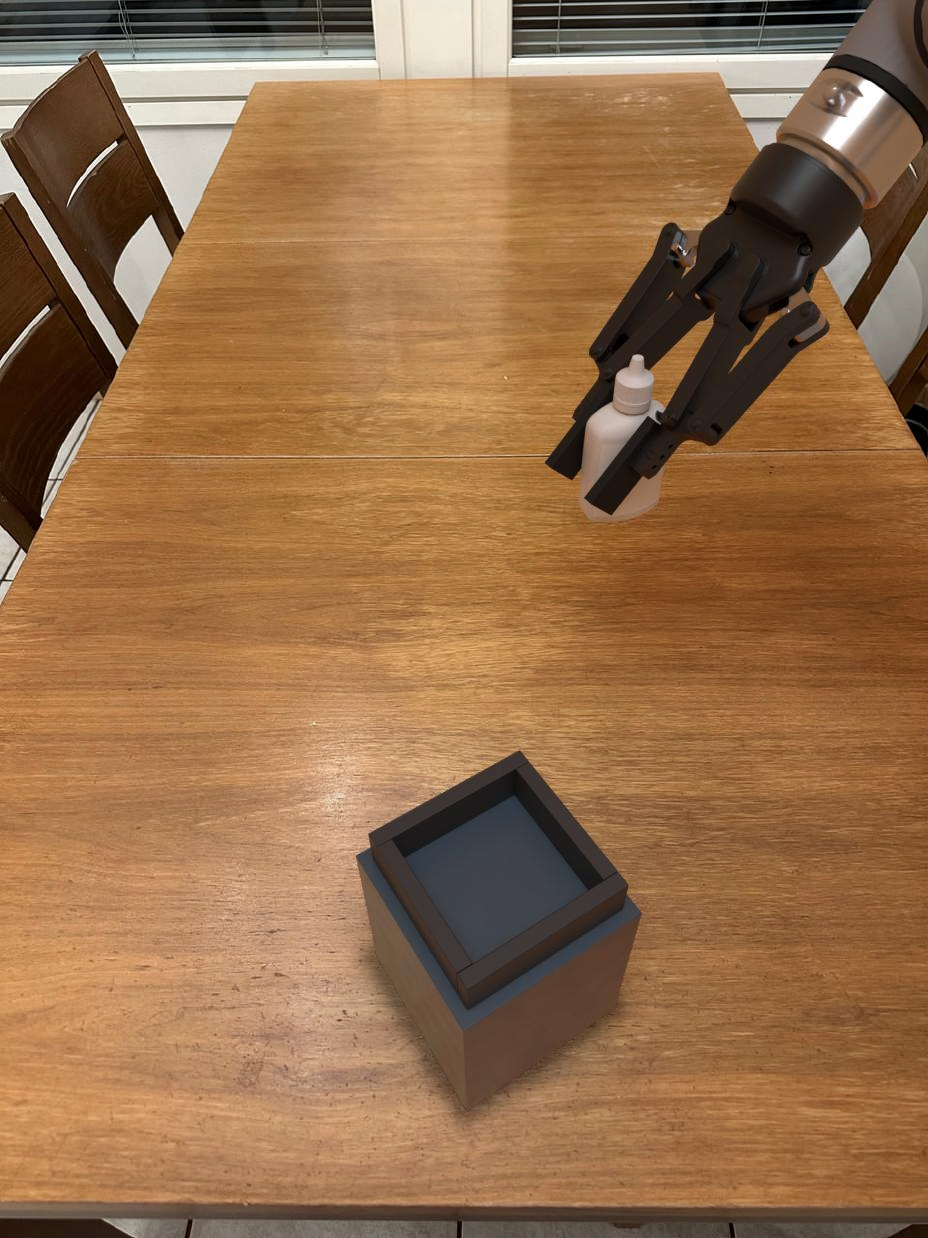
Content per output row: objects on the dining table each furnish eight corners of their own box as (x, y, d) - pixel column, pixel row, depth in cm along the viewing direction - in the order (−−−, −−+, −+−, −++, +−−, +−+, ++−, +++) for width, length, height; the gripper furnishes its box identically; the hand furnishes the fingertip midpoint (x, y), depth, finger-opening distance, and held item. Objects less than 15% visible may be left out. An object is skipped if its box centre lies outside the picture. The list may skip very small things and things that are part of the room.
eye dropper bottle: (657, 530, 65) (683, 381, 56) (575, 522, 66) (589, 373, 57) (658, 489, 68) (684, 341, 59) (581, 482, 69) (594, 335, 60)
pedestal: (615, 1008, 65) (649, 888, 51) (467, 1112, 60) (462, 1011, 47) (515, 872, 71) (522, 735, 58) (376, 956, 67) (349, 830, 54)
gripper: (698, 96, 59) (476, 407, 65) (916, 193, 49) (630, 547, 56) (744, 164, 64) (536, 443, 71) (947, 262, 55) (685, 575, 61)
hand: (578, 488), depth 63 cm, fingers closed on eye dropper bottle, 4 cm apart
